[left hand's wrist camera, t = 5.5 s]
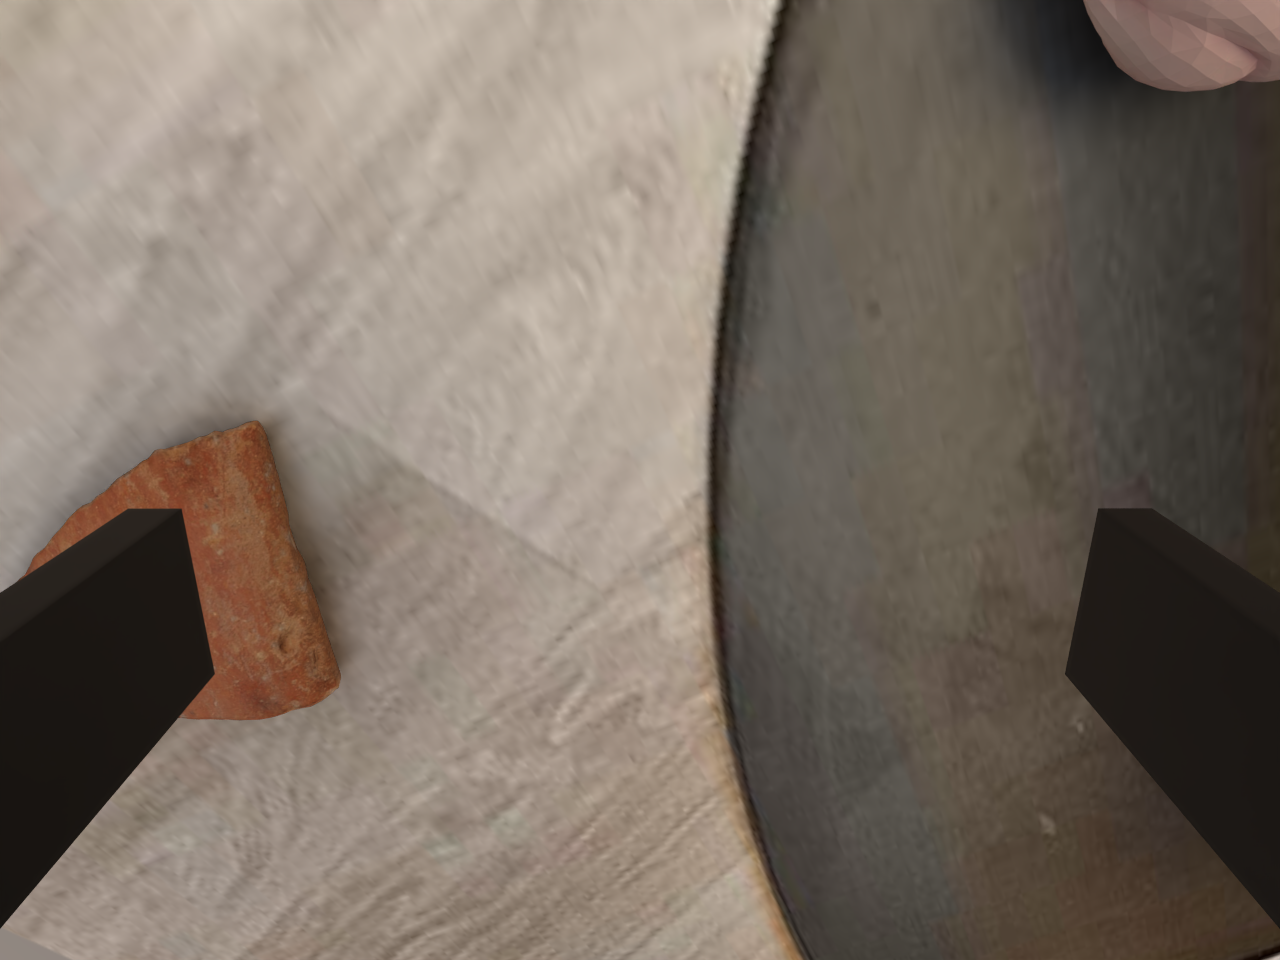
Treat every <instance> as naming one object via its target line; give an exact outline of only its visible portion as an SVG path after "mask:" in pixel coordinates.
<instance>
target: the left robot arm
mask: <svg viewBox="0 0 1280 960" xmlns="http://www.w3.org/2000/svg"><path fill="white" fill-rule="evenodd" d="M214 675H215V672H214V667H213V662H212V657H211V652H210V647H209V642H208V637H207V632H206V627H205V622H204V617H203V612H202V607H201V602H200V597H199V592H198V587H197V582H196V577H195V572H194V567H193V562H192V557H191V552H190V547H189V543H188V538H187V533H186V528H185V523H184V518H183V513H182V509H127V510H125V511H124V512H122V513H121V514H119V515H118V516H116V517H115V518H113V519H112V520H110V521H108V522H107V523H105V524H104V525H102V526H101V527H99V528H98V529H96V530H95V531H93V532H92V533H90V534H89V535H87V536H86V537H84V538H83V539H81V540H80V541H78V542H77V543H75V544H74V545H72V546H71V547H69V548H68V549H66V550H65V551H63V552H62V553H60V554H59V555H57V556H55V557H54V558H52V559H51V560H49V561H48V562H46V563H45V564H43V565H42V566H40V567H39V568H37V569H36V570H34V571H33V572H31V573H30V574H28V575H27V576H25V577H24V578H22V579H21V580H19V581H18V582H16V583H15V584H13V585H12V586H10V587H9V588H7V589H6V590H4V591H2V592H1V593H0V928H1V927H2V926H3V925H4V924H5V922H6V921H7V920H8V919H9V918H10V916H11V915H12V914H13V913H14V912H15V910H16V909H17V908H18V907H19V906H20V905H21V903H22V902H23V901H24V900H25V899H26V897H27V896H28V895H29V894H30V893H31V892H32V890H33V889H34V888H35V887H36V886H37V884H38V883H39V882H40V881H41V880H42V878H43V877H44V876H45V875H46V874H47V873H48V871H49V870H50V869H51V868H52V867H53V865H54V864H55V863H56V862H57V861H58V860H59V858H60V857H61V856H62V855H63V854H64V852H65V851H66V850H67V849H68V848H69V846H70V845H71V844H72V843H73V842H74V841H75V839H76V838H77V837H78V836H79V835H80V833H81V832H82V831H83V830H84V829H85V828H86V826H87V825H88V824H89V823H90V822H91V820H92V819H93V818H94V817H95V816H96V815H97V813H98V812H99V811H100V810H101V809H102V807H103V806H104V805H105V804H106V803H107V801H108V800H109V799H110V798H111V797H112V796H113V794H114V793H115V792H116V791H117V790H118V788H119V787H120V786H121V785H122V784H123V783H124V781H125V780H126V779H127V778H128V777H129V775H130V774H131V773H132V772H133V771H134V769H135V768H136V767H137V766H138V765H139V764H140V762H141V761H142V760H143V759H144V758H145V756H146V755H147V754H148V753H149V752H150V751H151V749H152V748H153V747H154V746H155V745H156V743H157V742H158V741H159V740H160V739H161V737H162V736H163V735H164V734H165V733H166V732H167V730H168V729H169V728H170V727H171V726H172V724H173V723H174V722H175V721H176V720H177V719H178V717H179V716H180V715H181V714H182V713H183V711H184V710H185V709H186V708H187V707H188V705H189V704H190V703H191V702H192V701H193V700H194V698H195V697H196V696H197V695H198V694H199V692H200V691H201V690H202V689H203V688H204V687H205V685H206V684H207V683H208V682H209V681H210V679H211V678H212V677H213V676H214ZM1065 675H1066V676H1067V677H1068V678H1069V679H1070V681H1071V682H1072V683H1073V684H1074V685H1075V687H1076V688H1077V689H1078V690H1079V691H1080V692H1081V694H1082V695H1083V696H1084V697H1085V698H1086V700H1087V701H1088V702H1089V703H1090V704H1091V705H1092V707H1093V708H1094V709H1095V710H1096V711H1097V713H1098V714H1099V715H1100V716H1101V717H1102V719H1103V720H1104V721H1105V722H1106V723H1107V724H1108V726H1109V727H1110V728H1111V729H1112V730H1113V732H1114V733H1115V734H1116V735H1117V736H1118V737H1119V739H1120V740H1121V741H1122V742H1123V743H1124V745H1125V746H1126V747H1127V748H1128V749H1129V751H1130V752H1131V753H1132V754H1133V755H1134V756H1135V758H1136V759H1137V760H1138V761H1139V762H1140V764H1141V765H1142V766H1143V767H1144V768H1145V769H1146V771H1147V772H1148V773H1149V774H1150V775H1151V777H1152V778H1153V779H1154V780H1155V781H1156V783H1157V784H1158V785H1159V786H1160V787H1161V788H1162V790H1163V791H1164V792H1165V793H1166V794H1167V796H1168V797H1169V798H1170V799H1171V800H1172V801H1173V803H1174V804H1175V805H1176V806H1177V807H1178V809H1179V810H1180V811H1181V812H1182V813H1183V815H1184V816H1185V817H1186V818H1187V819H1188V820H1189V822H1190V823H1191V824H1192V825H1193V826H1194V828H1195V829H1196V830H1197V831H1198V832H1199V833H1200V835H1201V836H1202V837H1203V838H1204V839H1205V841H1206V842H1207V843H1208V844H1209V845H1210V846H1211V848H1212V849H1213V850H1214V851H1215V852H1216V854H1217V855H1218V856H1219V857H1220V858H1221V860H1222V861H1223V862H1224V863H1225V864H1226V865H1227V867H1228V868H1229V869H1230V870H1231V871H1232V873H1233V874H1234V875H1235V876H1236V877H1237V878H1238V880H1239V881H1240V882H1241V883H1242V884H1243V886H1244V887H1245V888H1246V889H1247V890H1248V892H1249V893H1250V894H1251V895H1252V896H1253V897H1254V899H1255V900H1256V901H1257V902H1258V903H1259V905H1260V906H1261V907H1262V908H1263V909H1264V910H1265V912H1266V913H1267V914H1268V915H1269V916H1270V918H1271V919H1272V920H1273V921H1274V922H1275V924H1276V925H1277V926H1278V927H1279V928H1280V593H1279V592H1278V591H1276V590H1274V589H1273V588H1271V587H1270V586H1268V585H1267V584H1265V583H1264V582H1262V581H1261V580H1259V579H1258V578H1256V577H1255V576H1253V575H1252V574H1250V573H1249V572H1247V571H1246V570H1244V569H1243V568H1241V567H1240V566H1238V565H1237V564H1235V563H1234V562H1232V561H1231V560H1229V559H1228V558H1226V557H1225V556H1223V555H1221V554H1220V553H1218V552H1217V551H1215V550H1214V549H1212V548H1211V547H1209V546H1208V545H1206V544H1205V543H1203V542H1202V541H1200V540H1199V539H1197V538H1196V537H1194V536H1193V535H1191V534H1190V533H1188V532H1187V531H1185V530H1184V529H1182V528H1181V527H1179V526H1178V525H1176V524H1175V523H1173V522H1172V521H1170V520H1168V519H1167V518H1165V517H1164V516H1162V515H1161V514H1159V513H1158V512H1156V511H1155V510H1153V509H1098V513H1097V518H1096V523H1095V528H1094V533H1093V538H1092V543H1091V547H1090V552H1089V557H1088V562H1087V567H1086V572H1085V577H1084V582H1083V587H1082V592H1081V597H1080V602H1079V607H1078V612H1077V617H1076V622H1075V627H1074V632H1073V637H1072V642H1071V647H1070V652H1069V657H1068V662H1067V667H1066V672H1065Z"/></svg>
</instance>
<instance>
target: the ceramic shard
mask: <svg viewBox="0 0 1280 960" xmlns="http://www.w3.org/2000/svg"><path fill="white" fill-rule="evenodd" d="M127 509H182V513H183V518H184V523H185V528H186V533H187V538H188V543H189V547H190V552H191V557H192V562H193V567H194V572H195V577H196V582H197V587H198V592H199V597H200V602H201V607H202V612H203V617H204V622H205V627H206V632H207V637H208V642H209V647H210V652H211V657H212V662H213V667H214V672H215V675H214V676H213V677H212V678H211V679H210V681H209V682H208V683H207V684H206V685H205V687H204V688H203V689H202V690H201V691H200V692H199V694H198V695H197V696H196V697H195V698H194V700H193V701H192V702H191V703H190V704H189V705H188V707H187V708H186V709H185V710H184V711H183V713H182V714H181V715H180V716H179V717H178V718H187V719H229V720H260V719H265V718H271V717H275V716H278V715H281V714H284V713H287V712H289V711H291V710H296V709H300V708H305V707H311V706H313V705H315V704H316V703H318V702H320V701H322V700H323V699H325V698H326V697H328V696H329V695H330V694H331V693H332V692H333V691H334V690H335V689H337V688H338V687H339V684H340V680H341V674H340V670H339V668H338V665H337V663H336V660H335V657H334V654H333V651H332V648H331V644H330V641H329V639H328V636H327V632H326V629H325V626H324V623H323V620H322V617H321V614H320V610H319V607H318V604H317V601H316V597H315V595H314V592H313V589H312V586H311V583H310V581H309V579H308V576H307V570H306V565H305V562H304V560H303V558H302V556H301V554H300V553H299V551H298V549H297V547H296V544H295V541H294V538H293V536H292V532H291V529H290V526H289V517H288V511H287V507H286V503H285V499H284V495H283V492H282V488H281V484H280V480H279V476H278V473H277V470H276V467H275V463H274V459H273V455H272V452H271V449H270V445H269V442H268V439H267V436H266V433H265V431H264V429H263V427H262V425H261V424H260V423H259V422H258V421H251V422H247V423H245V424H243V425H241V426H239V427H237V428H234V429H228V430H226V431H224V432H219V431H214V432H212V433H210V434H209V435H207V436H202V437H198V438H196V439H194V440H192V441H190V442H188V443H184V444H181V445H177V446H174V447H170V448H167V449H159V450H155V451H154V452H153V453H152V455H151V456H150V457H149V458H148V459H147V460H144V461H142V462H141V463H139V464H138V465H137V466H136V467H135V468H133V469H132V470H130V471H129V472H127V473H126V474H124V475H122V476H121V477H119V478H118V479H116V481H115V482H114V483H113V484H112V485H111V486H110V487H109V488H108V489H107V490H106V491H105V492H103V493H102V494H100V495H98V496H97V497H96V498H95V499H94V500H93V501H92V502H91V503H89V504H86V505H83V506H82V507H80V508H79V509H78V510H77V511H76V512H75V513H74V514H73V515H72V516H71V517H70V518H69V519H68V520H67V521H66V523H65V524H64V525H63V526H62V528H61V529H60V530H59V531H58V532H57V533H56V534H55V535H54V536H53V537H52V539H51V540H50V541H49V543H48V544H47V546H46V547H45V548H44V549H43V550H41V551H40V552H39V553H37V554H36V556H35V557H34V558H33V560H32V562H31V565H30V567H29V569H28V570H27V572H26V574H25V575H24V576H23V577H22V578H24V577H25V576H27V575H28V574H30V573H31V572H33V571H34V570H36V569H37V568H39V567H40V566H42V565H43V564H45V563H46V562H48V561H49V560H51V559H52V558H54V557H55V556H57V555H59V554H60V553H62V552H63V551H65V550H66V549H68V548H69V547H71V546H72V545H74V544H75V543H77V542H78V541H80V540H81V539H83V538H84V537H86V536H87V535H89V534H90V533H92V532H93V531H95V530H96V529H98V528H99V527H101V526H102V525H104V524H105V523H107V522H108V521H110V520H112V519H113V518H115V517H116V516H118V515H119V514H121V513H122V512H124V511H125V510H127ZM22 578H20V579H19V580H21V579H22ZM19 580H18V581H19ZM18 581H17V582H18Z"/></svg>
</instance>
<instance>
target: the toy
mask: <svg viewBox="0 0 1280 960" xmlns="http://www.w3.org/2000/svg"><path fill="white" fill-rule="evenodd" d="M1083 1H1084V4H1085V7H1086V10H1087V13H1088V15H1089V17H1090V19H1091V21H1092V23H1093V25H1094V27H1095V29H1096V31H1097V32H1098V34H1099V35H1100V37H1101V38H1102V42H1103V44H1104V46H1105V47H1106V49H1107V51H1108V52H1109V54H1110V55H1111V57H1112V59H1113V60H1114V62H1115V64H1116V65H1117V67H1119V68H1120V69H1121V70H1123V71H1124V72H1125V73H1126V74H1128V75H1129V76H1130V77H1132V78H1133V79H1134V80H1136V81H1138V82H1141V83H1144V84H1147V85H1150V86H1153V87H1156V88H1158V89H1162V90H1171V91H1182V92H1190V91H1202V90H1213V89H1217V88H1220V87H1223V86H1226V85H1229V84H1232V83H1235V82H1237V81H1238V80H1240V81H1247V82H1268V81H1274V80H1280V0H1083Z"/></svg>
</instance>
